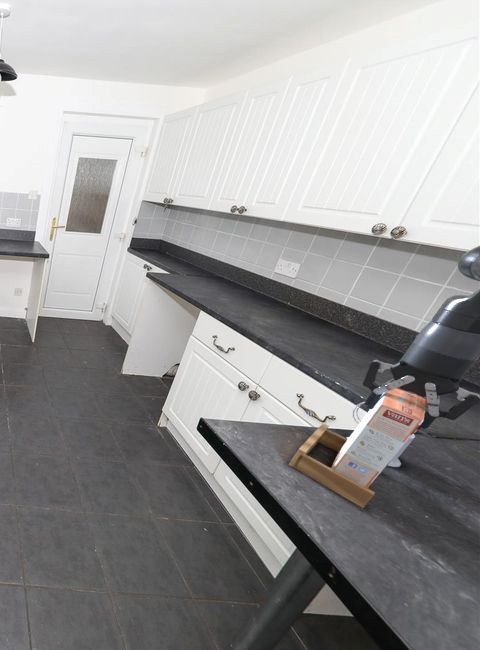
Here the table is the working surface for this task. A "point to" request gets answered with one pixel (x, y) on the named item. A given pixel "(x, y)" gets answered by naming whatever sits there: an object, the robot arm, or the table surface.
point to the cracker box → (380, 436)
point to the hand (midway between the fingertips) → (392, 417)
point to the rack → (325, 473)
